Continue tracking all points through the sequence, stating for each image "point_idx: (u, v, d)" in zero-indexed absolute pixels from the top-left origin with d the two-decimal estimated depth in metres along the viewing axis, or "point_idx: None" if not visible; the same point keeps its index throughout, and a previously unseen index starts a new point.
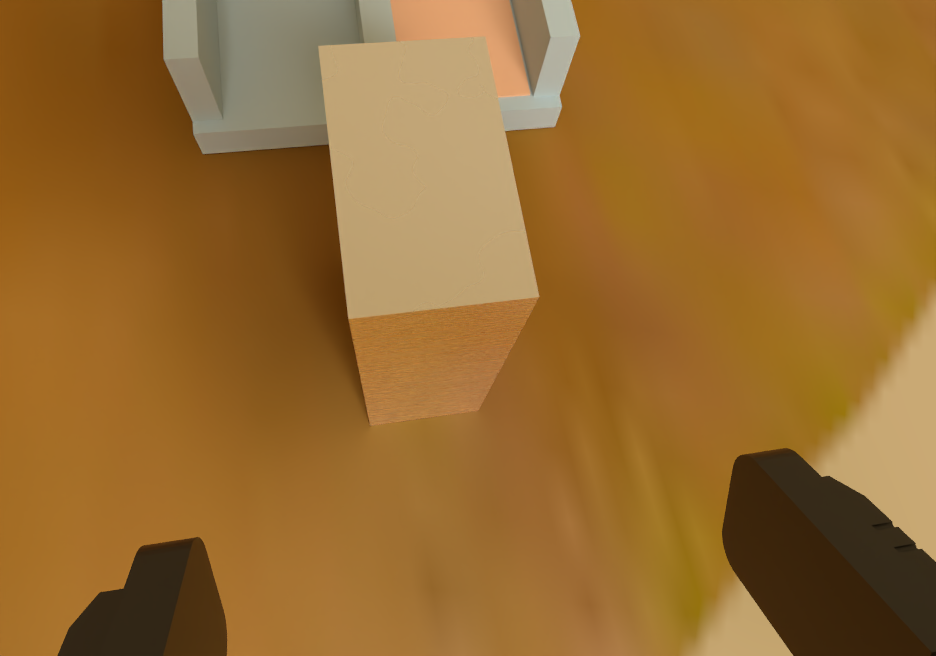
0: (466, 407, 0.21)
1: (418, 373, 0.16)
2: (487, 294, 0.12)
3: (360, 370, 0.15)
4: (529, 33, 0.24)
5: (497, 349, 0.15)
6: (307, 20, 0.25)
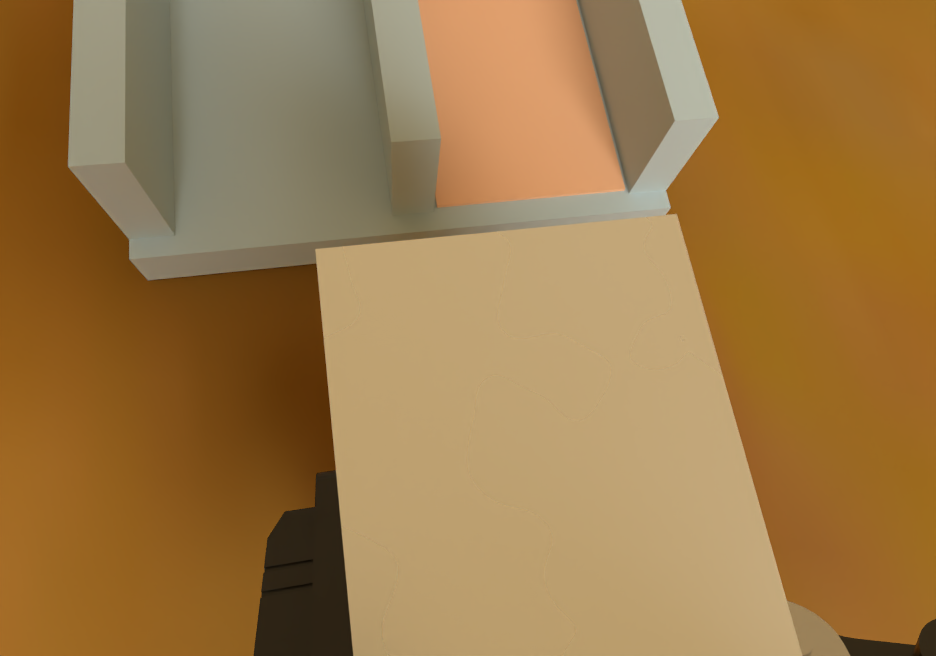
0: None
1: None
2: None
3: None
4: (625, 103, 0.16)
5: None
6: (302, 81, 0.17)
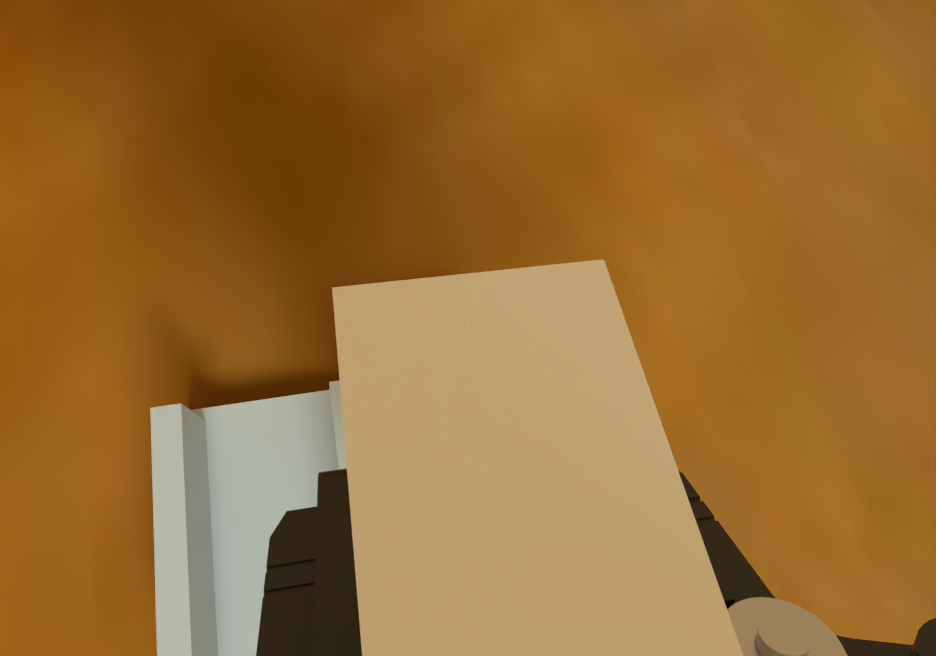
0: None
1: None
2: None
3: None
4: None
5: None
6: None
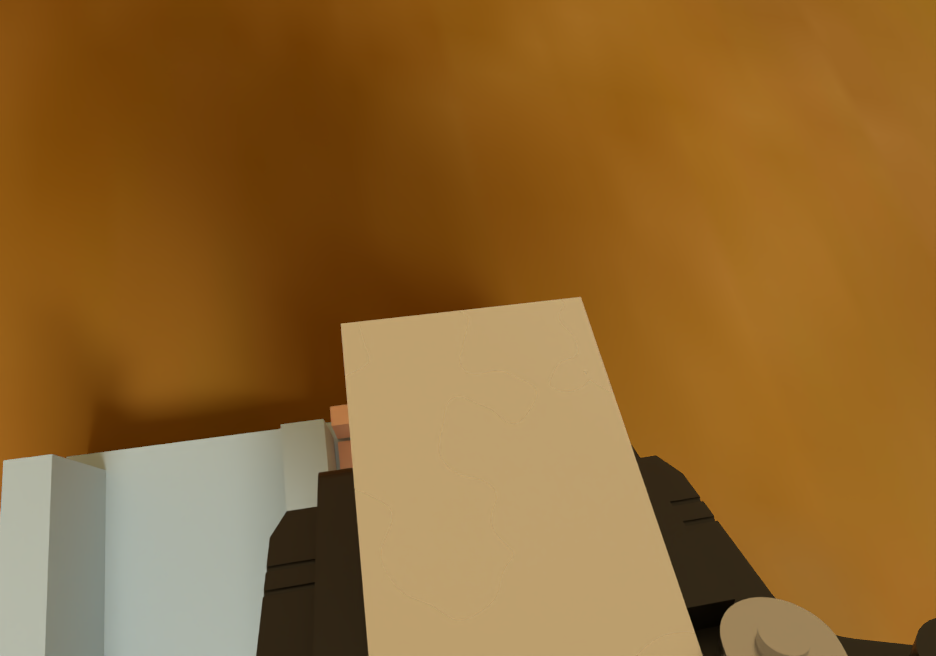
0: None
1: None
2: None
3: None
4: None
5: None
6: None
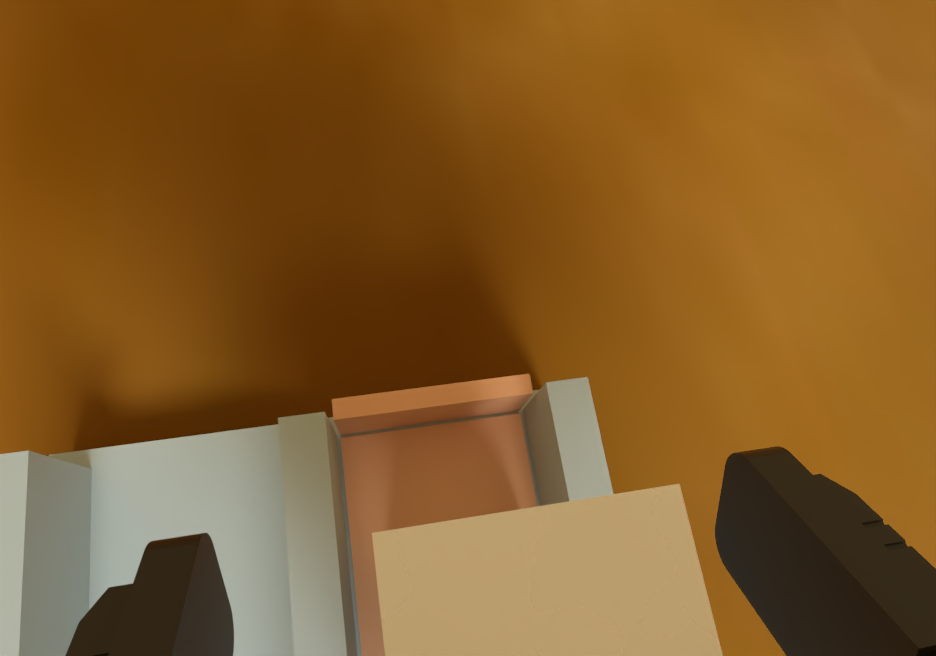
0: None
1: None
2: None
3: None
4: None
5: None
6: None
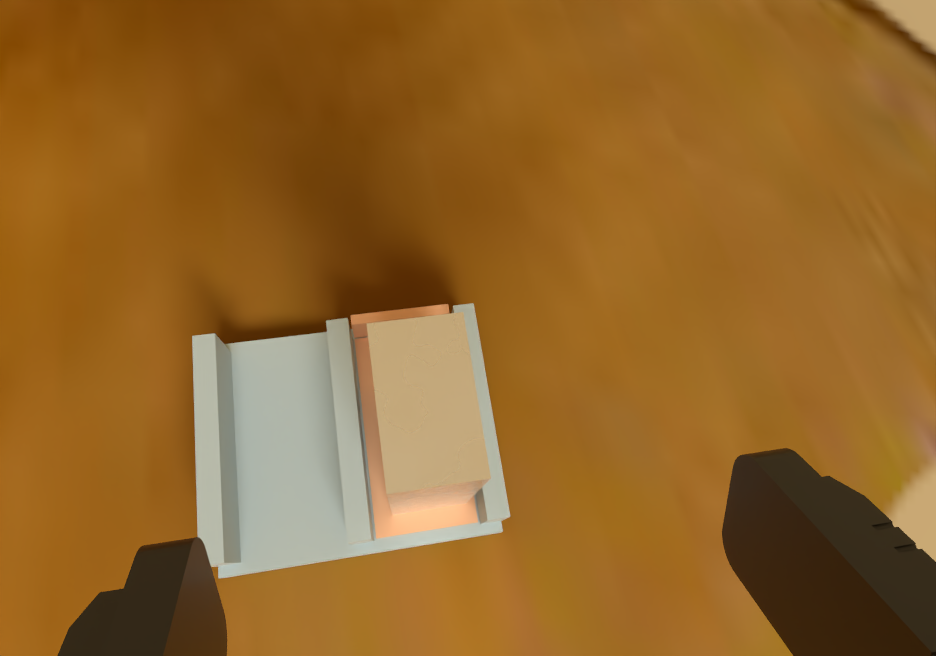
0: (457, 503, 0.31)
1: (424, 499, 0.26)
2: (462, 478, 0.22)
3: (389, 503, 0.25)
4: None
5: (471, 489, 0.25)
6: (305, 462, 0.32)
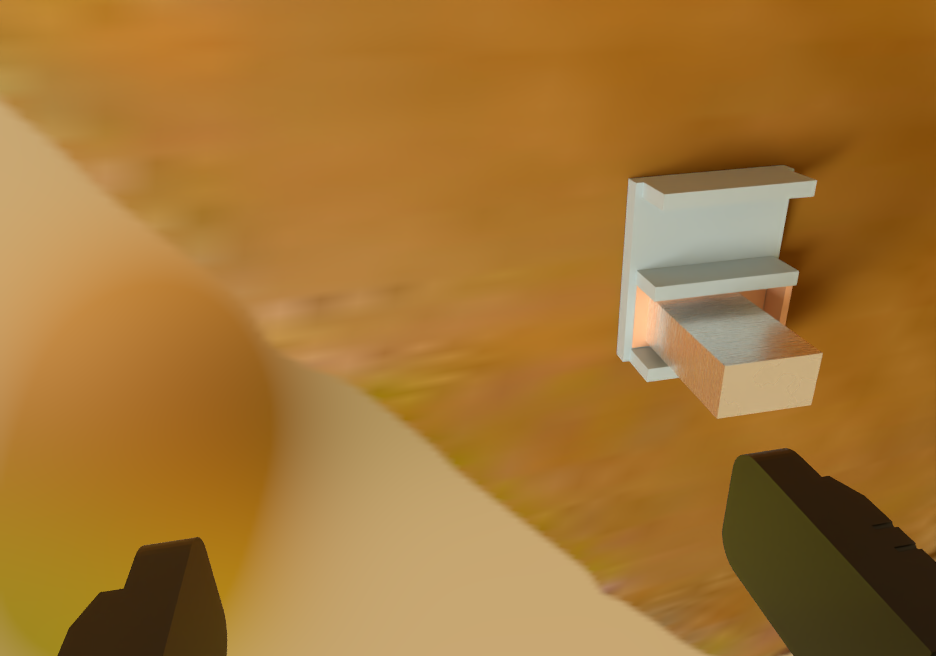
0: (650, 340, 0.47)
1: (685, 351, 0.42)
2: (721, 404, 0.38)
3: (695, 339, 0.40)
4: None
5: (691, 385, 0.41)
6: (695, 239, 0.45)
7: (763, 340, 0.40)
